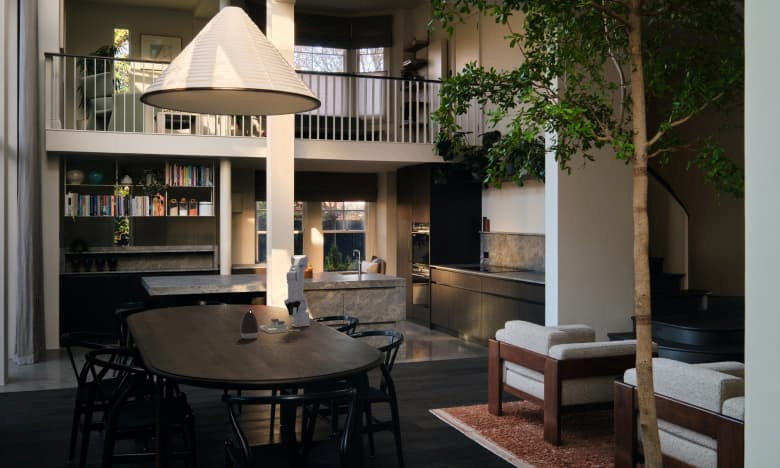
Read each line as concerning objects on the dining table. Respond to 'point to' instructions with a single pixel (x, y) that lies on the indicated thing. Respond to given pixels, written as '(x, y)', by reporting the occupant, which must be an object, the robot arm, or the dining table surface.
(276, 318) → the plunger
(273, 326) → the housing
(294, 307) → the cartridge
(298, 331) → the coaster
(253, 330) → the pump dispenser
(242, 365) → the dining table surface
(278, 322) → the plunger
